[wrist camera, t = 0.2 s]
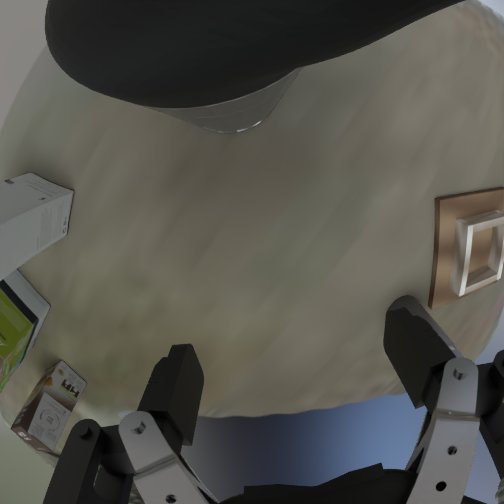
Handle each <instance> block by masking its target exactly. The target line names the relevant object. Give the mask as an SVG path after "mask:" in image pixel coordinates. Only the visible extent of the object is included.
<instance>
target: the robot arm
mask: <svg viewBox="0 0 504 504" xmlns="http://www.w3.org/2000/svg"><path fill="white" fill-rule="evenodd" d="M462 1H465V0H49V1H48V4H47V9H46V16H45V34H46V40H47V43H48V47H49V50H50V52H51V54H52V56H53V58H54V60H55V61H56V62H57V64H58V65H59V66H60V67H61V69H62V70H64V71H65V72H66V73H67V74H68V75H69V76H70V77H71V78H73V79H74V80H75V81H77V82H78V83H80V84H82V85H84V86H86V87H88V88H89V89H91V90H94V91H96V92H99V93H101V94H104V95H107V96H110V97H113V98H117V99H121V100H124V101H127V102H131V103H134V104H137V105H141V106H144V107H147V108H150V109H153V110H156V111H160V112H162V113H165V114H168V115H171V116H174V117H176V118H179V119H182V120H185V121H187V122H190V123H192V124H195V125H197V126H200V127H202V128H205V129H207V130H211V131H213V132H218V133H236V132H241V131H245V130H248V129H250V128H252V127H254V126H256V125H258V124H259V123H261V122H262V121H263V120H264V119H265V118H266V117H267V116H268V115H269V114H270V113H271V111H272V110H273V109H274V107H275V106H276V105H277V103H278V102H279V100H280V99H281V97H282V96H283V95H284V93H285V92H286V90H287V89H288V88H289V86H290V85H291V83H292V82H293V81H294V79H295V78H296V76H297V75H298V73H299V72H300V70H301V69H302V68H303V67H304V66H307V65H311V64H315V63H318V62H322V61H325V60H328V59H332V58H335V57H338V56H341V55H344V54H347V53H350V52H353V51H355V50H357V49H360V48H362V47H364V46H367V45H369V44H371V43H373V42H375V41H377V40H379V39H381V38H383V37H385V36H387V35H389V34H391V33H393V32H395V31H397V30H399V29H401V28H403V27H405V26H407V25H409V24H411V23H413V22H415V21H417V20H419V19H421V18H423V17H425V16H428V15H430V14H432V13H434V12H437V11H439V10H441V9H444V8H446V7H449V6H451V5H454V4H456V3H459V2H462ZM383 343H384V349H385V352H386V354H387V356H388V358H389V360H390V361H391V363H392V365H393V367H394V369H395V371H396V372H397V374H398V376H399V378H400V380H401V382H402V384H403V385H404V387H405V389H406V391H407V393H408V395H409V397H410V399H411V401H412V403H413V405H414V407H415V409H417V408H419V407H422V406H424V405H425V406H426V408H427V411H426V414H425V417H424V421H423V424H422V427H421V431H420V434H419V437H418V440H417V443H416V445H415V448H414V451H413V453H412V455H411V457H410V459H409V461H408V463H407V465H406V468H405V470H400V469H383V467H382V463H378V464H375V465H372V466H369V467H365V468H362V469H358V470H354V471H351V472H348V473H346V474H344V475H341V476H339V477H337V478H335V479H332V480H330V481H328V482H325V483H323V484H321V485H318V486H313V487H308V486H294V485H283V484H274V485H260V486H244V493H243V494H239V495H236V496H233V497H230V498H228V499H226V500H224V501H222V502H220V503H219V502H218V501H217V500H216V498H215V497H214V496H213V495H212V494H211V493H210V492H209V491H208V490H207V489H206V487H205V486H204V485H203V483H202V482H201V481H200V479H199V478H198V477H197V475H196V474H195V473H194V471H193V470H192V469H191V467H190V466H189V464H188V463H187V462H186V460H185V458H184V457H183V455H182V454H181V453H180V452H181V448H182V445H187V446H192V442H193V437H194V431H195V426H196V421H197V415H198V410H199V405H200V400H201V395H202V390H203V385H204V375H203V371H202V368H201V365H200V363H199V361H198V358H197V356H196V353H195V351H194V348H193V346H192V345H191V344H179V345H172V347H171V349H170V352H169V355H168V357H163V358H162V359H161V360H160V361H159V362H158V363H157V364H156V365H155V367H154V369H153V372H152V374H151V377H150V379H149V381H148V384H147V386H146V389H145V391H144V394H143V396H142V399H141V401H140V404H139V407H138V409H137V411H136V412H132V413H130V414H128V415H126V416H125V417H124V418H123V419H122V420H121V422H120V424H119V425H114V426H107V427H100V425H99V424H98V423H97V422H96V421H94V420H92V419H84V420H81V421H79V422H78V423H76V424H75V425H74V426H73V428H72V430H71V432H70V434H69V436H68V439H67V441H66V443H65V446H64V448H63V450H62V453H61V455H60V458H59V460H58V463H57V465H56V468H55V470H54V473H53V476H52V479H51V481H50V484H49V487H48V490H47V492H46V495H45V499H44V501H43V504H128V502H129V497H130V492H131V487H132V482H133V479H134V482H135V484H136V486H137V488H138V490H139V492H140V494H141V496H142V498H143V500H144V502H145V504H486V503H483V502H481V501H478V500H475V499H472V498H470V497H467V496H464V491H465V488H466V485H467V481H468V478H469V474H470V470H471V467H472V462H473V458H474V453H475V448H476V443H477V438H478V432H479V430H480V432H481V434H482V437H483V439H484V441H485V443H486V445H487V447H488V450H489V452H490V454H491V457H492V459H493V461H494V464H495V466H496V469H497V471H498V474H499V477H500V479H501V481H500V483H499V486H498V491H497V492H496V495H495V499H496V500H497V501H498V504H504V403H503V401H504V350H502V351H500V352H498V353H497V354H496V356H495V358H494V361H493V362H492V363H487V364H481V365H476V364H475V363H474V362H473V361H472V360H470V359H468V358H464V357H456V356H455V354H454V353H453V352H452V350H451V349H450V348H449V347H448V345H447V344H446V343H445V342H444V341H443V339H442V338H441V337H440V336H438V333H437V332H436V331H435V330H433V327H432V326H431V325H430V324H429V323H428V322H427V320H425V319H423V318H421V317H419V316H418V315H415V316H413V315H412V314H411V313H410V312H409V311H408V309H407V308H406V307H400V308H396V309H393V310H389V311H387V313H386V321H385V331H384V340H383ZM99 466H100V469H99V472H98V476H97V479H96V482H95V486H93V485H94V480H95V477H96V473H97V470H98V467H99ZM134 473H136V474H134Z"/></svg>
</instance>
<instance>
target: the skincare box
mask: <svg viewBox="0 0 504 504" xmlns="http://www.w3.org/2000/svg"><path fill="white" fill-rule="evenodd" d="M73 194H74V192H73V190H70V189H66V188H63V187H61V186H58V185H56V184H53V183H51V182H49V181H47V180H45V179H43V178H41V177H39V176H37V175H36V174H34V173H28V174H25V175H21V176H18V177H15V178H11V179H8V180H5V181H2V182H0V281H1V280H2V279H4V278H5V277H6V276H8V275H9V274H10V273H12V272H13V271H14V270H16V269H17V268H18V267H20V266H21V265H23V264H24V263H25V262H27V261H28V260H30V259H31V258H32V257H34V256H35V255H37V254H38V253H40V252H41V251H43V250H44V249H46V248H47V247H49V246H50V245H52V244H53V243H55V242H57V241H58V240H60V239H61V238H63V237H65V236H66V235H67V229H68V221H69V215H70V210H71V205H72V199H73Z"/></svg>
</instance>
